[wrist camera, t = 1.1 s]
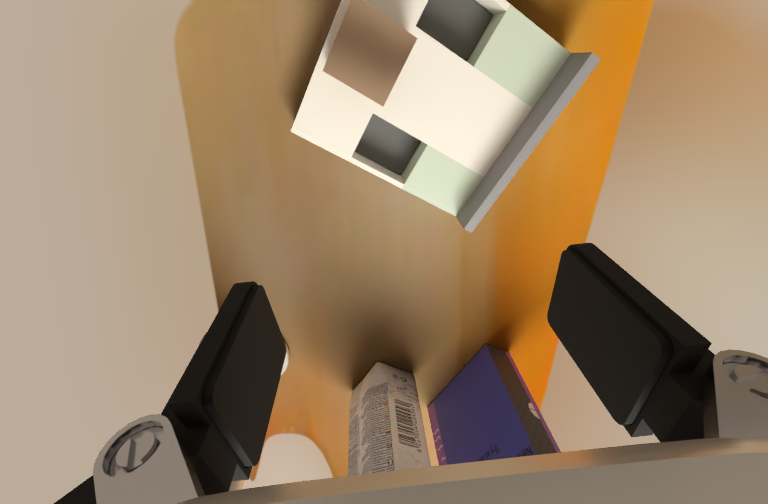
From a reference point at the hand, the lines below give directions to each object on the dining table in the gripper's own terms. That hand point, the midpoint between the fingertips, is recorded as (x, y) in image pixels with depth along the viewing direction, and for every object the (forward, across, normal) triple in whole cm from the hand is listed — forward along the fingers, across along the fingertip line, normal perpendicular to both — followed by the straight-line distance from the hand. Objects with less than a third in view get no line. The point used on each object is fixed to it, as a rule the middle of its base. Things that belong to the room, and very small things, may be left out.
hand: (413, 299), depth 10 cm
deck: (+27, -5, -3) cm, 28 cm away
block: (+24, 0, -6) cm, 25 cm away
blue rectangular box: (+26, -10, +42) cm, 51 cm away
